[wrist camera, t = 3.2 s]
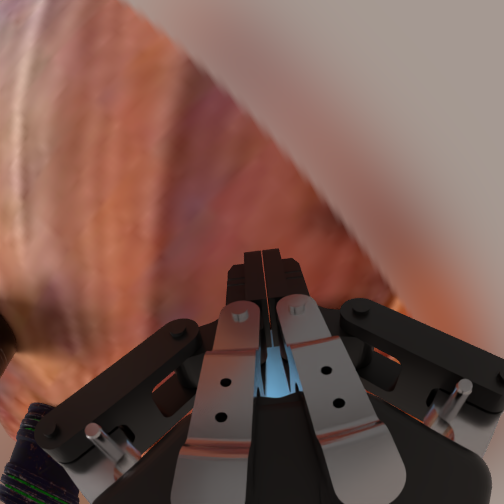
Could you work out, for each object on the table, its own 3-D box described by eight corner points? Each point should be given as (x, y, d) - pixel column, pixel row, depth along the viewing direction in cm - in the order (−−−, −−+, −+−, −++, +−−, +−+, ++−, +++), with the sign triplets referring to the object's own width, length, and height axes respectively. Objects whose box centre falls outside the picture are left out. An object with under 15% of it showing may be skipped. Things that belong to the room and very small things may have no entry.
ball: (221, 316, 19) (218, 391, 14) (314, 304, 19) (337, 376, 14) (236, 373, 22) (237, 440, 17) (313, 363, 22) (329, 428, 17)
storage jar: (40, 428, 29) (15, 509, 16) (18, 392, 25) (-20, 488, 12) (100, 449, 31) (83, 538, 18) (87, 418, 26) (59, 529, 13)
